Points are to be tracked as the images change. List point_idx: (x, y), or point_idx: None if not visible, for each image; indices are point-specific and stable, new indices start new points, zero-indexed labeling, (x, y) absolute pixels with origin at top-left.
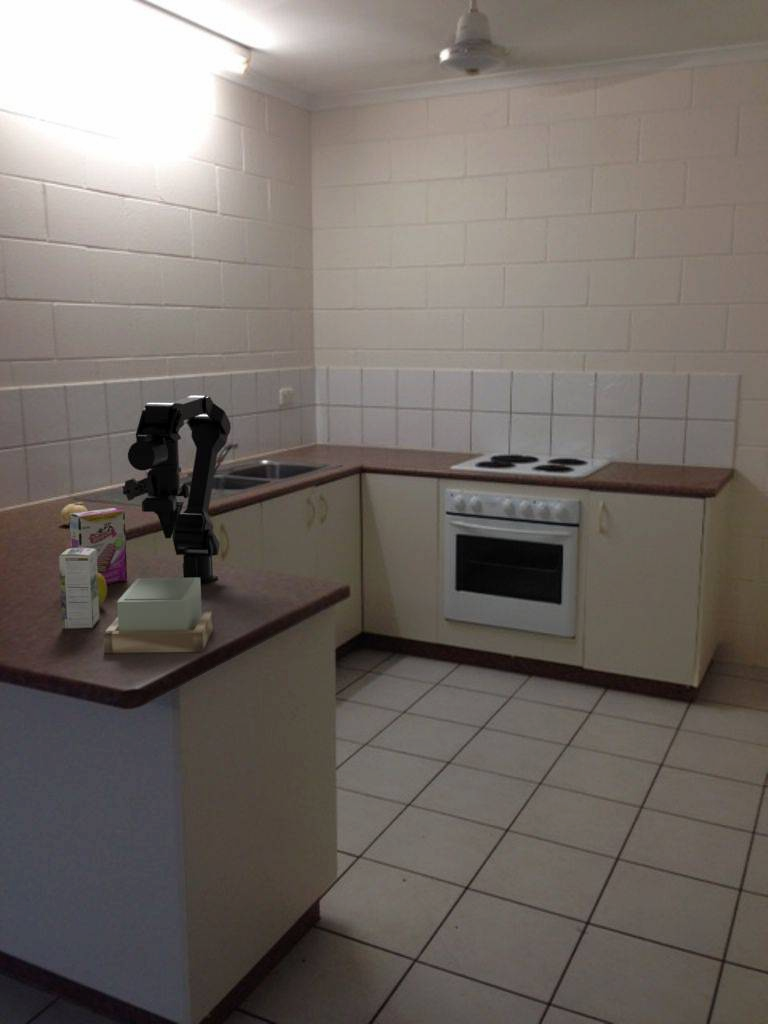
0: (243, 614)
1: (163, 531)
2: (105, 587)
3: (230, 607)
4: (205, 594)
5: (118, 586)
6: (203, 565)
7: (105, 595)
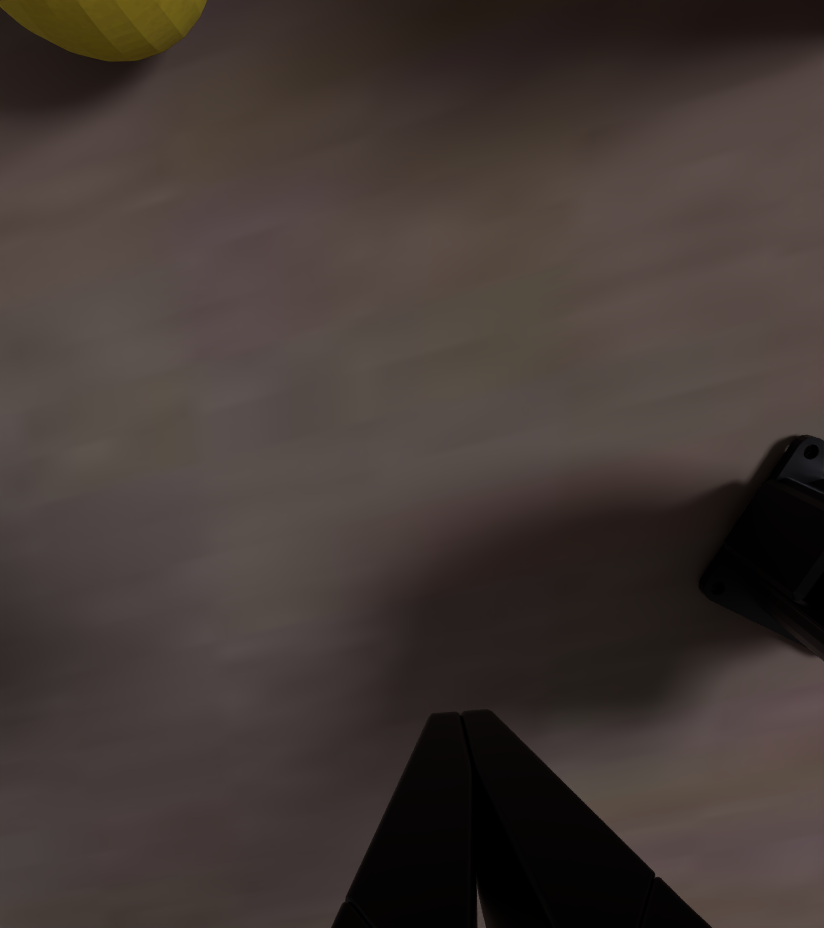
0: (126, 894)
1: (399, 783)
2: (69, 39)
3: (241, 819)
4: (494, 651)
5: (739, 2)
6: (822, 654)
7: (105, 60)
